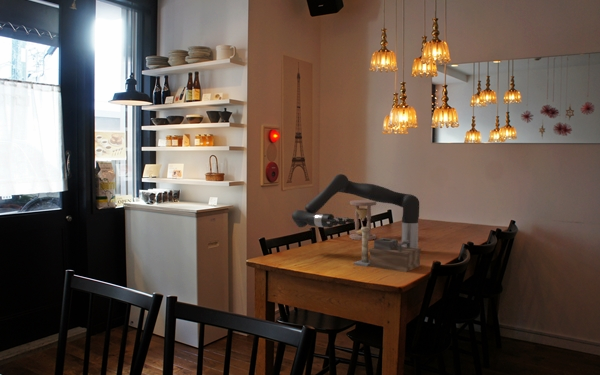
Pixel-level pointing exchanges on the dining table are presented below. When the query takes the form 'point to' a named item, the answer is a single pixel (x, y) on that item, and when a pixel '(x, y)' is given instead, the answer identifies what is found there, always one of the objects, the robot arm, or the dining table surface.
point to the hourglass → (363, 213)
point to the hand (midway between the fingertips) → (349, 222)
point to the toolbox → (394, 255)
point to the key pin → (365, 244)
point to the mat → (362, 263)
